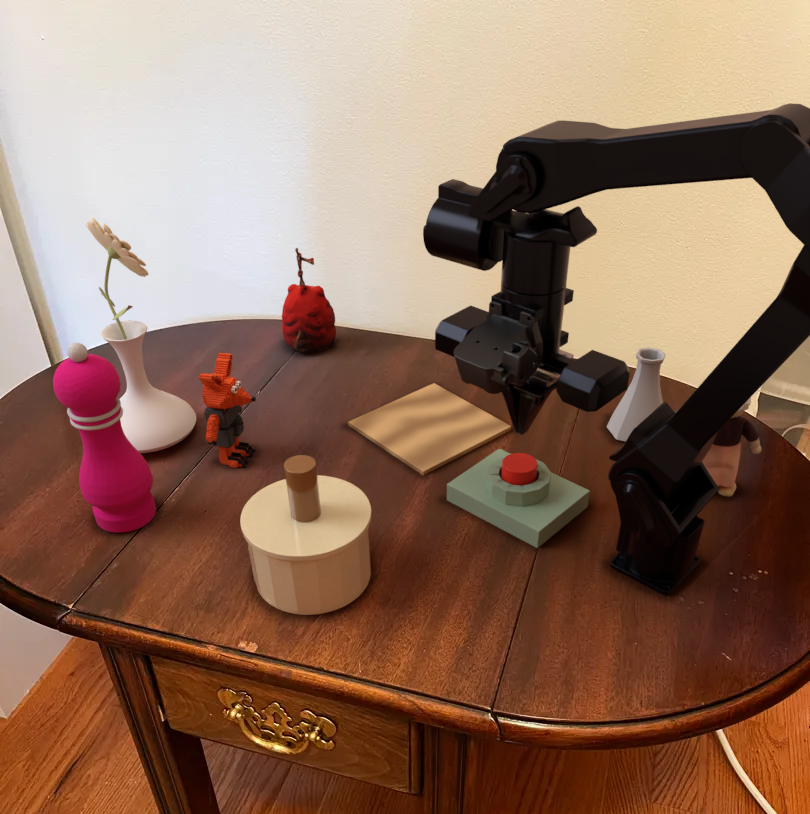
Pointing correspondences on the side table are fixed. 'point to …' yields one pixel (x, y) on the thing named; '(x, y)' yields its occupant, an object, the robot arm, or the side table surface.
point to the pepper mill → (104, 443)
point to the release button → (519, 469)
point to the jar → (313, 579)
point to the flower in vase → (140, 367)
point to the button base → (518, 499)
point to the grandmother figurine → (730, 450)
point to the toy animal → (225, 412)
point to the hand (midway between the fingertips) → (521, 432)
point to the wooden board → (429, 428)
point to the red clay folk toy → (307, 315)
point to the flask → (639, 394)
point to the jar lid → (305, 514)
